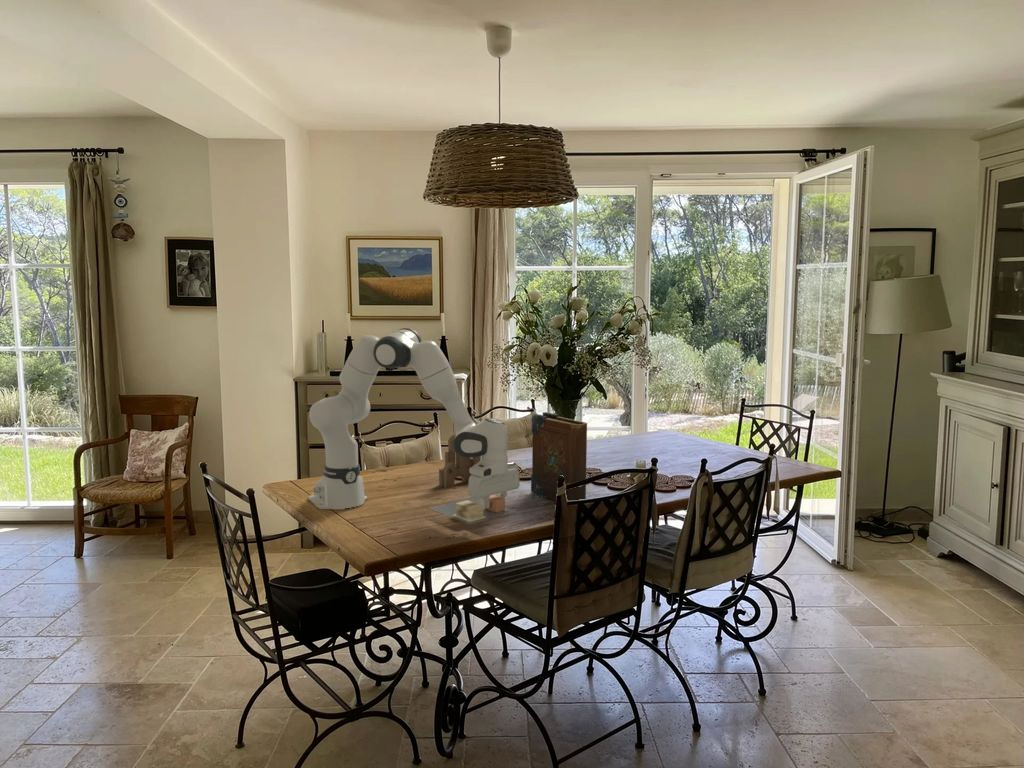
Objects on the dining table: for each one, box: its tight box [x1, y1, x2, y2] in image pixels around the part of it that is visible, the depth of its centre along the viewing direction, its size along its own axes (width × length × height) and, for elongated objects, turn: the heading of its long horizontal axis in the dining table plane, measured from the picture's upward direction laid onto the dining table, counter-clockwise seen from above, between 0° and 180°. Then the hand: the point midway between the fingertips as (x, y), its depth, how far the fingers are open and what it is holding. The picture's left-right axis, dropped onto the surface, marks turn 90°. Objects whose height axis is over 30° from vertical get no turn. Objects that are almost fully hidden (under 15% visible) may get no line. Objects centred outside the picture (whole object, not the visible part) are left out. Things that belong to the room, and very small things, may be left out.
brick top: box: [484, 494, 506, 512], centre depth 254 cm, size 6×4×4 cm, turn 42°
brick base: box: [456, 500, 483, 521], centre depth 246 cm, size 8×5×4 cm, turn 42°
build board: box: [428, 497, 517, 525], centre depth 254 cm, size 23×20×2 cm
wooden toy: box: [438, 434, 482, 490], centre depth 289 cm, size 16×7×25 cm, turn 120°
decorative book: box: [530, 411, 588, 501], centre depth 270 cm, size 23×7×30 cm, turn 39°
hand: (494, 506), depth 254 cm, fingers closed on brick top, 4 cm apart
